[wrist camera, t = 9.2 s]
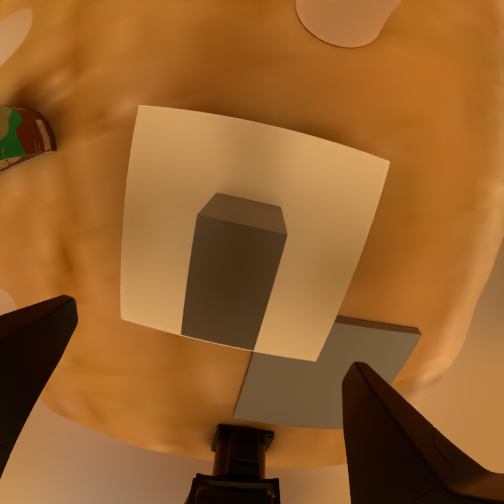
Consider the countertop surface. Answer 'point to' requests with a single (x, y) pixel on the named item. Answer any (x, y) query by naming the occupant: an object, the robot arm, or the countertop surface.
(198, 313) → the lid
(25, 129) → the food container
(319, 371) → the mat
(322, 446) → the countertop surface
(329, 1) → the cosmetic bottle
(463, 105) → the countertop surface
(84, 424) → the countertop surface
